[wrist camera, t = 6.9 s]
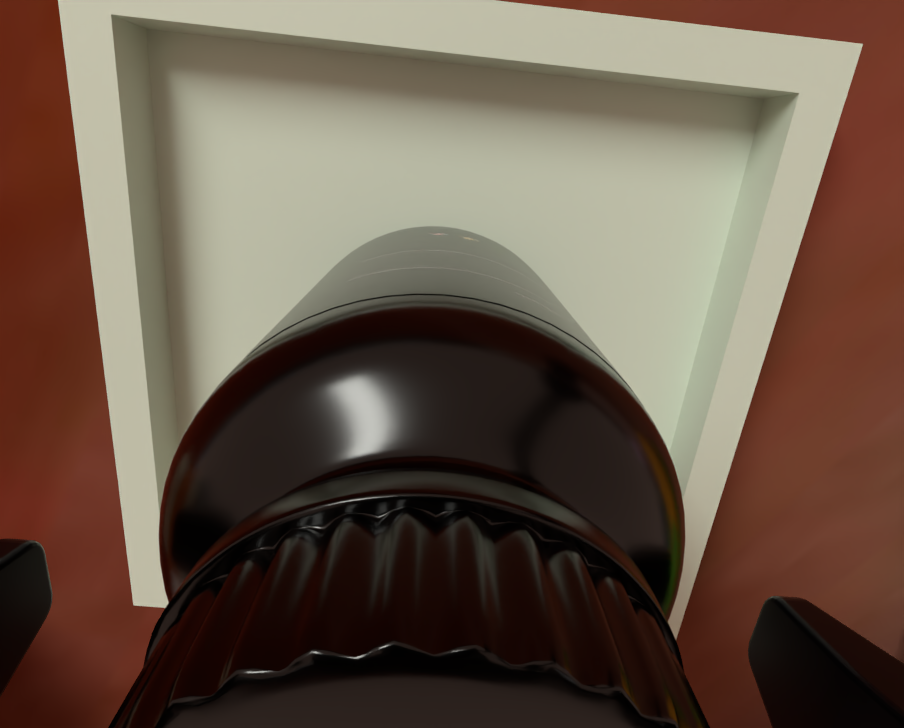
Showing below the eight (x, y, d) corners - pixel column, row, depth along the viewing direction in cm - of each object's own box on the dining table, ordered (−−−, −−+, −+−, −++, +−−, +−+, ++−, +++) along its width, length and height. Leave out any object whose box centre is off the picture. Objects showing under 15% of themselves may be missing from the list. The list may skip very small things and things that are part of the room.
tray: (809, 57, 13) (863, 44, 11) (654, 599, 19) (674, 644, 17) (105, -26, 12) (51, -53, 11) (163, 562, 18) (133, 605, 16)
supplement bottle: (523, 482, 17) (681, 1175, 5) (291, 435, 16) (-74, 1103, 5) (597, 252, 14) (1150, 637, 3) (327, 189, 14) (-227, 373, 2)
